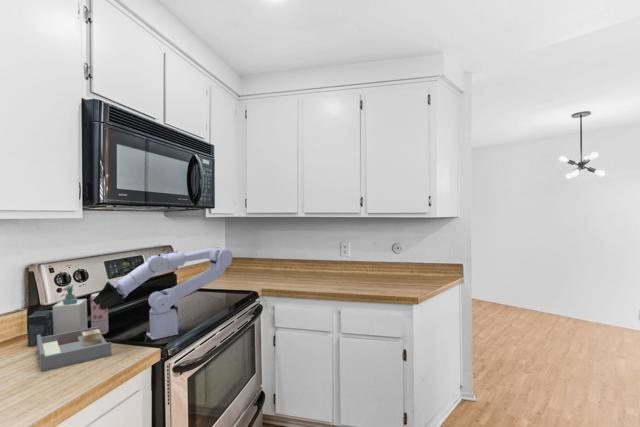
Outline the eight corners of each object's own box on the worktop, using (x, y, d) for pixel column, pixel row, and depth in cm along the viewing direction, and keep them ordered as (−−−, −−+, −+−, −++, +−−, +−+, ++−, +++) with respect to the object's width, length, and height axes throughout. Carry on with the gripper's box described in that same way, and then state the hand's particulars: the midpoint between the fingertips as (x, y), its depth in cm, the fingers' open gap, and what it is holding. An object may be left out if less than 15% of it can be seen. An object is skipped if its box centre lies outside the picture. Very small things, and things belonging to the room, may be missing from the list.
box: (47, 344, 133) (46, 315, 133) (27, 347, 131) (26, 316, 131) (54, 337, 140) (53, 309, 140) (35, 339, 138) (34, 311, 138)
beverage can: (101, 335, 141) (99, 296, 141) (87, 335, 142) (86, 295, 142) (111, 330, 147) (110, 292, 147) (99, 330, 148) (98, 292, 148)
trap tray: (99, 337, 140) (99, 323, 140) (111, 354, 123) (111, 339, 123) (37, 349, 129) (36, 335, 128) (41, 371, 111) (40, 354, 111)
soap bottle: (53, 341, 136) (51, 289, 135) (62, 333, 144) (60, 284, 144) (80, 339, 138) (78, 287, 138) (87, 331, 147) (86, 282, 146)
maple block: (98, 338, 133) (98, 328, 133) (101, 342, 129) (100, 332, 129) (81, 342, 129) (81, 332, 129) (84, 346, 126) (83, 335, 126)
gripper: (130, 277, 143) (96, 301, 136) (122, 265, 130) (84, 291, 124) (142, 291, 142) (108, 316, 135) (135, 279, 129) (97, 307, 123)
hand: (97, 305), depth 129 cm, fingers open, 7 cm apart
